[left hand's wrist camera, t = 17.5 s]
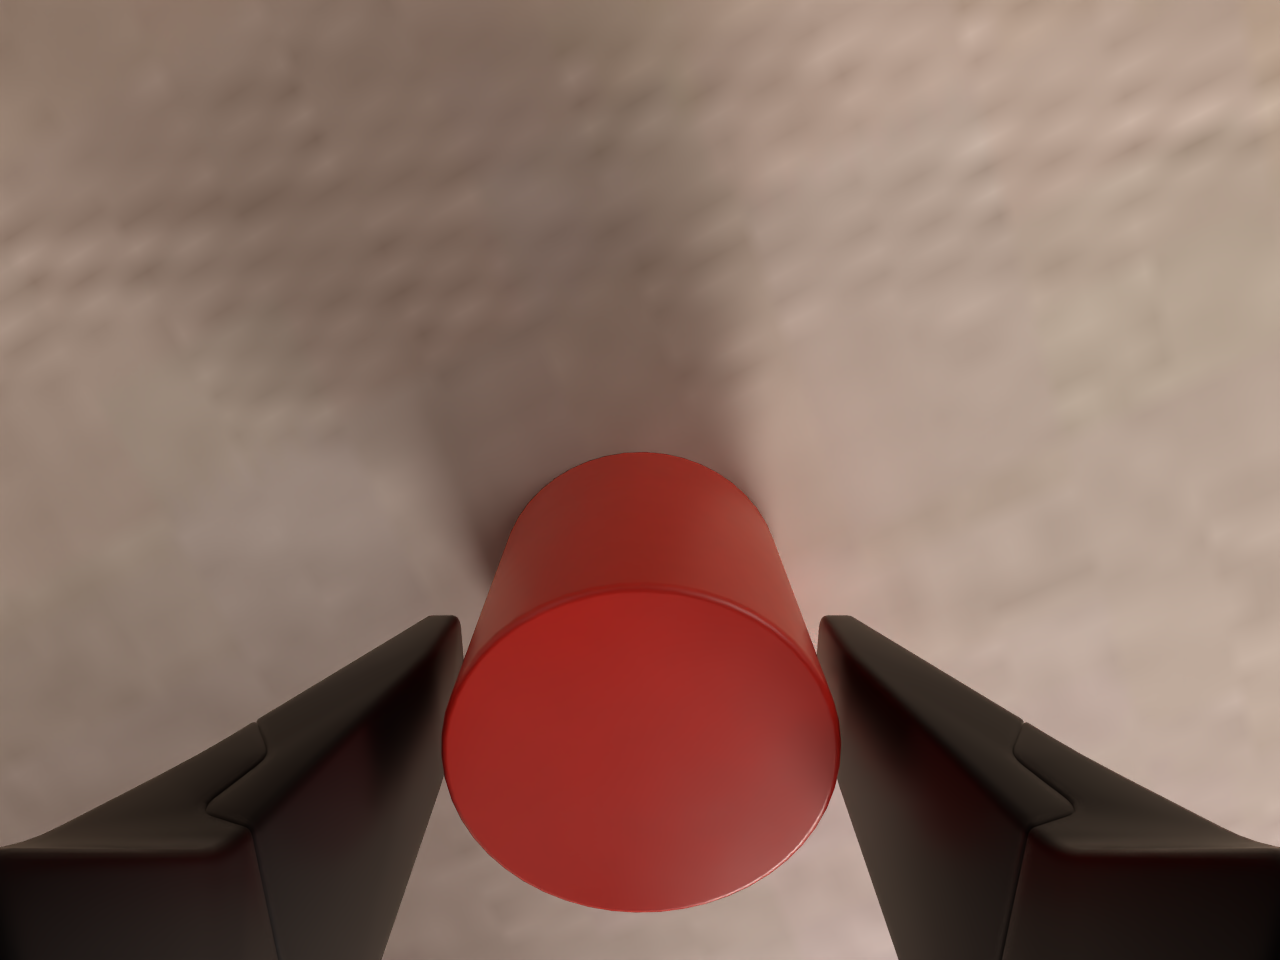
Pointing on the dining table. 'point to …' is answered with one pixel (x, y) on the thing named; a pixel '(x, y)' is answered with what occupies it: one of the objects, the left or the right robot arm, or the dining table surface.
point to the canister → (641, 694)
